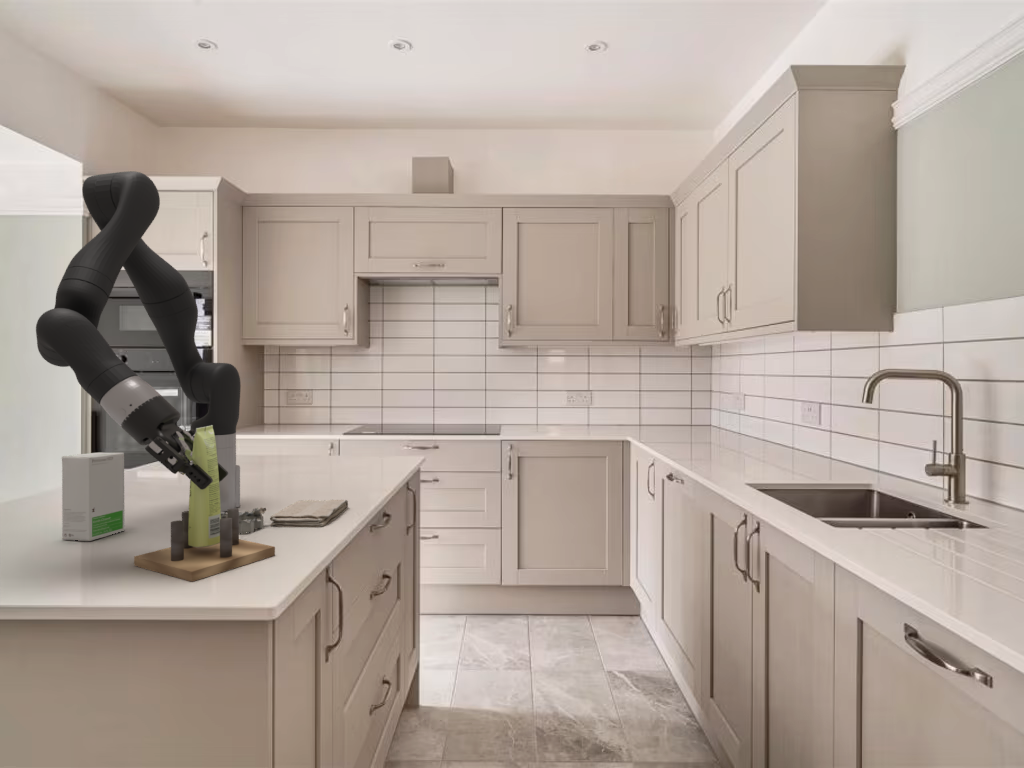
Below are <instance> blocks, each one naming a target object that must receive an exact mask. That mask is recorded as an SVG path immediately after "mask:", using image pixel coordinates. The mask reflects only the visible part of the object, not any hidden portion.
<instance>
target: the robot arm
mask: <svg viewBox="0 0 1024 768" xmlns="http://www.w3.org/2000/svg"><path fill="white" fill-rule="evenodd" d="M82 196H83V200H84V203H85V206H86V208H87V211H88V212H89V215H90V216H91V218H92V219H93V221H94V223H95V224H96V225H97V227H98V229H99V230H100V231H99V233H97V234H96V235H95V236H94V237H93V238H91V239H90V240H89V241H88V242H87V243H86V244H85V245H84V246H83V247H82V248H81V249H79V250H78V251H77V253H76V254H75V255H74V256H73V257H72V259H71V260H70V261H69V263H68V265H67V267H66V270H65V271H64V273H63V275H62V278H61V279H60V282H59V283H58V287H57V289H56V294H55V301H54V302H55V304H54V308H52V309H49V310H46V311H45V312H43V313H42V314H41V315H40V316H39V317H38V319H37V322H36V326H35V336H36V344H37V349H38V353H39V354H40V356H41V358H42V359H43V360H45V362H47V363H49V364H51V365H53V366H55V367H62V368H64V367H65V368H66V367H67V368H68V367H70V369H71V370H72V371H73V373H74V375H75V377H76V380H77V383H79V384H78V385H80V387H81V388H82V389H83V390H84V391H85V392H86V393H87V394H88V396H90V397H92V399H93V400H94V401H95V402H97V403H98V404H99V405H100V406H101V407H102V409H103V410H104V411H105V412H106V413H107V415H109V417H110V419H112V420H113V421H114V422H115V423H116V424H118V426H120V427H121V428H122V429H123V430H124V431H125V432H126V433H127V434H128V435H130V437H131V438H132V439H134V440H135V441H136V442H137V443H138V445H141V446H145V447H144V449H145V451H146V452H147V453H148V454H150V455H151V456H153V458H155V459H156V460H157V461H158V462H159V463H160V464H161V465H163V466H164V467H165V468H166V469H167V470H169V472H171V473H172V474H174V475H176V474H177V473H179V474H180V475H183V476H184V475H185V476H186V477H187V479H189V481H190V480H191V481H192V482H193V483H194V484H196V485H197V486H198V487H199V488H200V489H202V490H203V489H205V488H207V487H208V486H209V485H210V484H211V483H212V482H213V479H212V478H211V477H210V476H209V475H208V474H207V473H206V472H205V471H204V470H203V469H202V468H201V467H200V466H198V465H197V464H196V465H195V461H194V460H193V459H192V452H193V443H194V437H195V433H196V428H202V427H207V426H211V425H213V430H214V435H215V441H216V450H217V460H218V472H219V487H220V507H221V512H227V510H228V509H233V508H240V507H241V466H240V465H239V464H237V424H238V423H239V418H240V405H241V387H242V385H241V376H240V373H239V371H238V368H236V366H234V365H233V364H232V363H228V362H205V360H204V359H203V357H202V356H201V354H200V352H199V349H198V347H197V344H196V341H195V337H196V336H195V333H196V329H197V328H196V327H197V323H198V317H199V309H198V305H197V302H196V300H195V297H194V295H193V293H192V291H191V288H190V287H189V284H188V283H187V281H186V279H185V277H184V276H183V274H181V273H180V272H179V271H178V270H177V269H176V268H175V267H173V265H171V264H170V263H169V262H168V261H166V260H165V259H164V258H162V256H160V255H159V254H157V253H156V252H155V251H154V250H153V249H152V248H150V246H149V245H148V244H147V243H146V242H145V241H144V239H143V236H144V234H145V233H146V232H147V230H148V229H149V228H150V226H151V225H152V223H153V222H154V220H155V219H156V217H157V214H158V212H159V209H160V204H161V202H160V201H161V200H160V198H161V197H160V193H159V191H158V188H157V186H156V184H155V183H154V181H153V180H152V179H151V178H150V177H149V175H146V174H144V173H143V172H141V171H140V172H139V171H136V170H135V171H129V170H128V171H117V172H110V173H109V172H108V173H101V174H94V175H91V176H88V177H87V178H85V180H84V181H83V184H82ZM123 268H124V270H125V272H126V274H127V275H128V277H129V279H130V281H131V284H132V285H133V287H134V289H135V291H136V293H137V295H138V297H139V300H140V301H141V304H142V305H143V308H144V310H145V311H146V313H147V315H148V317H149V319H150V320H151V322H152V325H153V326H154V328H155V330H156V331H157V332H156V333H158V335H159V338H160V340H161V342H162V344H163V346H164V348H165V350H166V353H167V355H168V357H169V359H170V361H171V364H172V368H173V369H174V372H175V375H176V378H177V380H178V383H179V385H180V388H181V390H182V392H183V393H184V395H185V397H186V398H187V399H189V401H191V402H193V403H197V404H209V406H208V411H207V413H206V414H205V415H204V416H202V417H200V418H198V419H195V420H193V421H192V422H191V424H190V430H188V431H187V430H186V429H182V428H181V427H180V426H178V421H179V420H180V418H181V413H180V412H179V411H178V410H177V409H176V408H175V407H174V406H173V405H172V404H171V403H170V402H169V401H168V400H167V399H165V397H164V396H162V395H161V393H159V392H158V391H157V390H156V389H155V388H154V387H153V386H152V385H150V384H149V382H147V381H146V380H144V379H143V378H142V377H140V376H139V375H138V374H137V373H136V372H135V371H134V370H133V369H131V367H129V365H128V364H126V363H125V362H124V361H123V360H122V359H121V358H119V356H118V355H116V353H115V351H114V350H113V348H112V346H111V345H110V344H109V343H108V341H107V340H106V338H104V336H103V335H102V334H101V332H100V331H99V329H98V327H99V325H100V324H99V323H100V319H101V315H102V314H103V311H104V309H105V307H106V305H107V303H108V301H109V299H110V296H111V293H112V290H113V288H114V286H115V284H116V281H117V278H118V277H119V274H120V272H121V270H122V269H123ZM194 465H195V466H194Z"/></svg>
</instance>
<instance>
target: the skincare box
mask: <svg viewBox="0 0 1024 768" xmlns="http://www.w3.org/2000/svg"><path fill="white" fill-rule="evenodd" d="M61 467H62V468H61V469H62V470H61V473H62V475H61V477H62V478H61V481H62V483H61V486H62V487H61V488H62V489H61V490H62V491H61V492H62V495H61V496H62V498H61V499H62V502H61V503H62V505H61V506H62V507H61V508H62V511H61V513H62V514H61V515H62V519H61V520H62V523H61V525H62V528H61V529H62V537H61V538H62V540H66V541H75V540H78V542H91V541H95V540H97V539H102V538H106V537H109V536H112V534H113V535H116V534H119V533H118V532H120V533H122V532H121V531H124V530H125V527H126V525H125V452H101V451H99V452H91V453H79V454H72V455H71V454H70V455H62V456H61ZM124 532H125V531H124ZM115 533H116V534H115Z"/></svg>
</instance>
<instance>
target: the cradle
mask: <svg viewBox="0 0 1024 768" xmlns="http://www.w3.org/2000/svg"><path fill="white" fill-rule="evenodd" d="M239 512H240V509H239V508H238V507H236V508H233V509H228V510H227V511H226V514H227V518H222V519H220V543H218V544H216V545H212V546H207V547H197V548H196V547H192V546H189V545H188V527H189V510H184V511H181V520H174V521H171V522H170V547H166V548H161V549H158V550H153V551H149V552H146V553H141V554H138V555H134V556H133V566H134V567H137V566H138V568H141V569H145V570H148V571H152V572H155V573H159V574H163V575H166V576H170V577H175V578H177V579H181V580H183V581H188V582H195V581H199V580H202V579H205V578H208V577H211V576H214V575H217V574H220V573H223V572H227V571H230V570H233V569H237V568H239V567H242V566H246V565H249V564H252V563H256V562H258V561H262V560H265V559H269V558H271V557H274V556H275V555H276V547H275V546H272V545H268V544H265V543H258V542H254V541H249V540H245V539H240V534H239Z"/></svg>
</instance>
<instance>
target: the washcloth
mask: <svg viewBox="0 0 1024 768" xmlns="http://www.w3.org/2000/svg"><path fill="white" fill-rule="evenodd" d="M348 508H349V501H348V500H347V499H327V500H326V499H324V500H315V499H314V500H313V499H311V500H310V499H309V500H307V499H305V500H304V499H303V500H297V501H296V502H294V503H292V504H289V505H287V506H286V507H284V508H282V509H281V510H280V511H277V512H275V513H273V514H272V515H270V517H269V521H271V523H270V525H269V527H279V528H282V527H283V528H320V527H321V528H322V527H325V526H327V525H329V524H331V523H332V522H334V520H335V519H337V518H338V517H340V516H341V515H342V514H343V513H344V512H345V511H347V509H348Z"/></svg>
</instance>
